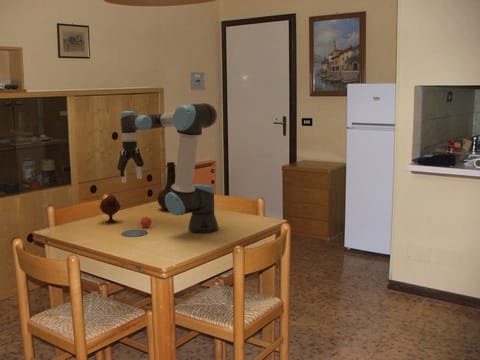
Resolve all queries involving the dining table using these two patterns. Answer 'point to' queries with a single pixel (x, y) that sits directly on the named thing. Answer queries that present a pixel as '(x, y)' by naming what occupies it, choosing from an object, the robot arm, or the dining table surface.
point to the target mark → (134, 233)
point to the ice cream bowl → (110, 207)
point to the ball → (145, 221)
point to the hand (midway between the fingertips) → (131, 180)
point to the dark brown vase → (167, 184)
